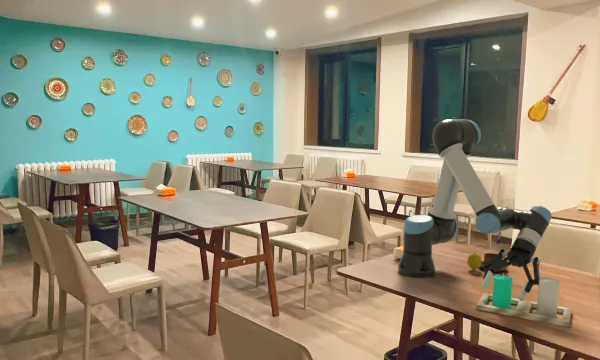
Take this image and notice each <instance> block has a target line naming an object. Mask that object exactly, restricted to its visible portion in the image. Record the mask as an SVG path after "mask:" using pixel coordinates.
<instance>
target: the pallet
mask: <svg viewBox="0 0 600 360" xmlns="http://www.w3.org/2000/svg"><path fill="white" fill-rule="evenodd" d="M489 300H490V301H492V300H493V293H488V292H483V294H482V296H481V297H480V299H479V301H478V302H477V303H476V306H475V309H476V310H479V311H484V312H490V313H494V314H500V315H504V316H509V317H515V318H520V319H525V320H530V321H535V322H539V323H543V324H544V323H545V324H549V325H554V326H555V325H556V326H561V327H564V328H565V327H566V328H569V327H570V321H571V315H572V308H570V307H566V306H559V305H557V313H560V314H562V318H558V317H556V318H553V317H548V316H543V315H537V314H536V313H532V312H531V310H532V308H534V309H537V301H532V300H526V299H523V301H520V300H519V298H516V297H511V304H513V305H516V307H515V309H511V308H510V309H506V308H501V307H496V306H492V304H491V305H489V304H487V303H489Z"/></svg>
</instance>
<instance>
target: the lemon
mask: <svg viewBox="0 0 600 360" xmlns="http://www.w3.org/2000/svg"><path fill="white" fill-rule="evenodd" d="M481 262H482V257H481V255H480V254H479V253H477V252H475V251H474V252H472V253H470V254H469V255H468V256H467V266H468V267H469V269H472V271H476V270H477V269H480V268H481V267H480V265H481Z"/></svg>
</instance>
